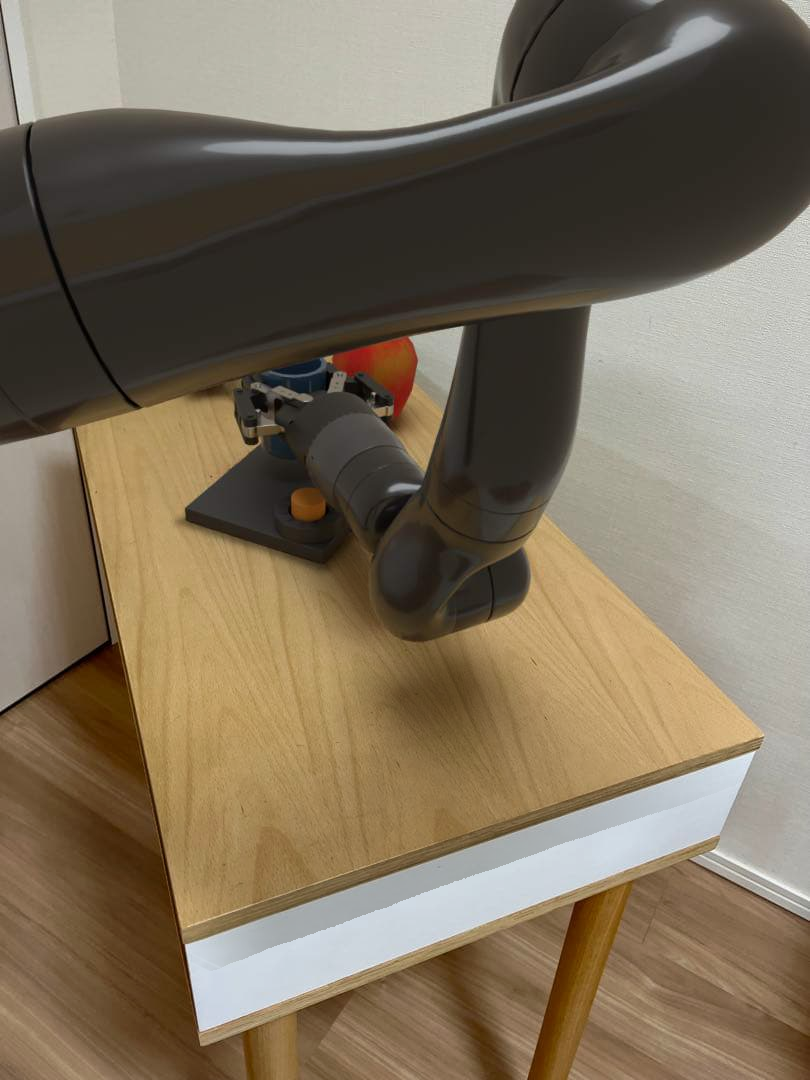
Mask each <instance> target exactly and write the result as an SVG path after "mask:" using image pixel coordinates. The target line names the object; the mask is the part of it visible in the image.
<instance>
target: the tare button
mask: <svg viewBox="0 0 810 1080" xmlns="http://www.w3.org/2000/svg"><path fill="white" fill-rule="evenodd" d="M325 509H326V500H325V499H324V498H323V496H322V495H321V493H320V492H319V491H318V489H315V488H301V489H298V490H296V491H295V492H293V494H292V496H291V513H292V516H293V517H294V518H295V519H297V520H301V521H317V520H320V519H322V518H323V517H324V516H325Z"/></svg>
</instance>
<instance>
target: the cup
mask: <svg viewBox="0 0 810 1080" xmlns="http://www.w3.org/2000/svg"><path fill="white" fill-rule="evenodd" d="M327 362H328V361H327V360H326V359H325V357H324V358H320V359H316V360H312V361H308V362H304V363H300V364H296V365H292V366H288V367H284V368H280V369H276V370H272V371H268V372H264V373H260V374H259V375H260V377H261V378H262V379H263V381H264V384H266V385H268V386H270V387H272V388H275V387H277V386H282V387H285V388H287V389H289V390H292V391H294V392H296V393H311V392H315V391H320V390H325V391H327ZM265 399H266V398H265ZM284 402H285V401H284ZM266 405H268V400H267V399H266ZM265 418H266V417H265ZM259 441H260V443H261V446H262V448H263V450H264V451H265V452H266V453H268V454H269V455H271V456H274V457H277V458H280V459H286V460H297V459H296V458H295V456H294V454H293V452H292V450H291V448H290V446H289V444H288V443H287V442H285V441H283V440H281V439H279V438H278V437H277V436H276V434H274V435H265V436H259Z"/></svg>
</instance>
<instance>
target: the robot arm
mask: <svg viewBox="0 0 810 1080" xmlns="http://www.w3.org/2000/svg"><path fill="white" fill-rule="evenodd" d="M809 206H810V27H809V25H808V24H807V23H806V22H805V21H804V20H803V19H802V17H801V16H799V15H798V13H797V12H796V11H795V10H794V9H793V8H792V7H791V6H790V5H789V4H788V3H786V2H785V1H784V0H515V1H514V4H513V7H512V9H511V10H510V13H509V16H508V17H507V20H506V24H505V27H504V30H503V33H502V37H501V41H500V45H499V50H498V55H497V58H496V65H495V71H494V79H493V85H492V93H491V103H490V107H487V108H483V109H480V110H476V111H472V112H469V113H465V114H462V115H458V116H454V117H451V118H450V117H449V118H447V119H442V120H437V121H431V122H426V123H421V124H416V125H411V126H402V127H392V128H384V129H372V130H371V129H369V130H368V129H367V130H366V129H365V130H362V129H361V130H358V129H357V130H351V129H350V130H333V129H323V128H312V127H304V126H303V127H301V126H293V125H285V124H279V123H273V122H272V123H271V122H264V121H258V120H252V119H244V118H238V117H231V116H222V115H217V114H216V115H215V114H209V113H200V112H192V111H191V112H190V111H181V110H173V109H163V108H140V107H139V108H136V107H114V108H113V107H111V108H99V109H93V110H84V111H78V112H72V113H67V114H60V115H56V116H50V117H46V118H44V117H43V118H40V119H39V118H38V119H37V120H35V121H28V122H25V123H21V124H17V125H14V126H9V127H6V128H1V129H0V447H1V446H5V445H10V444H12V443H19V442H22V441H23V442H24V441H27V440H32V439H37V438H41V437H44V436H49V435H53V434H56V433H60V432H63V431H67V430H71V429H75V428H78V427H82V426H86V425H89V424H92V423H97V422H99V421H104V420H106V419H111V418H114V417H117V416H121V415H125V414H129V413H132V412H135V411H139V410H142V409H145V408H146V409H147V408H150V407H153V406H157V405H160V404H163V403H165V402H170V401H172V400H176V399H178V398H181V397H185V396H188V395H191V394H194V393H196V392H201V391H203V390H207V388H210V389H211V388H214V387H217V386H219V385H223V384H226V383H231V382H233V381H237V380H240V387H236V388H234V389H232V397H233V407H234V408H233V409H234V410H233V414H234V415H233V416H234V420H235V422H236V424H237V427H238V429H239V432H240V435H241V439H242V440H243V443H244V444H245V445H247V446H256V445H259V443H260V436H265V435H274V434H276V436H277V437H278V438H279V439H281V440H283V441H285V442H287V443H288V444H289V446H290V448H291V450H292V452H293V454H294V456H295V458H296V459H297V461H298V462H299V463H300V465H301V466H302V468H303V469H304V471H305V472H306V473H307V475H308V476H309V478H310V480H311V482H312V484H313V485H314V486H315V487H316V488H317V489H318V491H319V492H320V493H321V495H322V496H323V498H324V499H325V500H326V501H327V502H328V503H329V504H330V505H331V506H332V507H333V508H334V509H335V510H336V511H337V512H338V513H339V515H340V516H341V518H342V519H343V521H344V522H345V523H346V525H347V526H348V528H349V529H350V530H351V531H350V532H351V533H352V535H353V536H354V537H355V539H356V540H357V541H358V543H359V544H360V545H361V546H362V547H363V548H364V549H365V550H366V551H368V552H369V553H371V554H372V557H371V560H370V564H369V570H368V577H367V587H368V588H367V589H368V597H369V602H370V605H371V608H372V610H373V612H374V614H375V617H376V619H377V621H378V622H379V624H381V626H382V627H383V628H384V629H385V630H386V631H387V632H389V633H390V634H391V635H392V636H394V637H395V638H398V639H400V640H401V641H402V640H403V641H405V642H409V643H424V642H425V643H426V642H430V641H434V640H437V639H441V638H443V637H444V638H445V637H446V636H449V635H451V634H456V633H458V632H462V631H464V630H468V629H471V628H474V627H477V626H480V625H483V624H486V623H490V622H493V621H496V620H499V619H501V618H504V617H506V616H508V615H510V614H512V613H514V612H515V611H517V610H518V609H519V608H520V607H521V606H522V605H523V603H524V602H525V600H526V598H527V597H528V595H529V593H530V589H531V581H532V570H531V563H530V560H529V556H528V553H527V551H526V549H525V547H524V545H525V544H526V543H527V542H528V540H529V539H530V538H531V536H532V535H533V533H534V532H535V530H536V528H537V526H538V524H539V522H540V521H541V519H542V517H543V515H544V513H545V511H546V509H547V507H548V505H549V504H550V501H551V499H552V498H553V495H554V494H555V492H556V489H557V488H558V486H559V484H560V482H561V480H562V478H563V475H564V473H565V471H566V468H567V466H568V463H569V461H570V458H571V455H572V452H573V448H574V445H575V439H576V436H577V435H576V434H577V427H578V422H579V417H580V412H581V404H582V394H583V385H584V372H585V361H586V351H587V341H588V340H587V339H588V333H589V326H590V319H591V312H592V306H593V305H596V304H597V305H599V304H603V303H608V302H609V303H610V302H613V301H614V302H615V301H619V300H624V299H629V298H634V297H637V296H638V297H639V296H642V295H647V294H651V293H657V292H659V291H660V292H661V291H664V290H667V289H671V288H675V287H678V286H682V285H684V284H687V283H690V282H693V281H695V280H698V279H700V278H703V277H705V276H707V275H711V274H713V273H716V272H718V271H720V270H722V269H724V268H725V267H728V266H730V265H733V264H734V263H736V262H738V261H740V260H742V259H743V258H746V257H747V256H749V255H751V254H753V253H754V252H756V251H757V250H759V249H760V248H762V247H763V246H764V245H766V244H768V243H769V242H771V241H772V240H773V239H774V238H776V237H777V236H779V234H781V233H782V232H783V231H785V230H786V229H787V227H789V226H790V225H791V224H792V223H793V222H794V221H795V220H797V218H798V217H799V216H800V215H801V214H802V213H804V211H806V209H808V208H809ZM461 327H462V332H461V337H460V343H459V347H458V352H457V357H456V362H455V367H454V370H453V376H452V379H451V384H450V388H449V392H448V396H447V400H446V402H445V403H446V404H445V407H444V412H443V415H442V419H441V421H440V424H439V428H438V431H437V433H436V437H435V440H434V444H433V447H432V449H431V454H430V457H429V459H428V463H427V466H426V469H425V471H424V469H423V468H422V467H421V466H420V465H419V464H418V463H417V461H416V460H415V459H414V458H413V457H412V455H410V454H409V452H408V451H407V448H406V447H405V445H404V444H403V442H402V441H401V440H400V438H399V437H398V436H397V435H396V433H394V431H393V430H392V429H391V428H390V427H389V426H388V425H387V424H391V423H392V422H394V421H393V420H394V419H393V407H394V395H393V394H392V393H391V392H389V391H388V390H387V389H385V388H384V387H383V386H382V385H380V384H379V383H378V382H377V381H375V380H374V379H373V378H372V377H370V376H369V375H368V374H367V373H365V372H356V373H355V374H354V377H349V376H347V374H346V373H345V372H342V371H339V370H338V369H337V368H336V367H335V366H334V365H333V364H332V362H330V361H327V391H325V390H320V391H315V392H311V393H296V392H294V391H292V390H289V389H287V388H285V387H282V386H277V387H275V388H272V387H270V386H268V385H266V384H264V381H263V379H262V378H261V377H260V375H259V374H260V373H264V372H268V371H272V370H276V369H280V368H284V367H288V366H292V365H296V364H300V363H304V362H308V361H312V360H316V359H320V358H324V359H325V358H328V357H333V355H336V354H340V353H344V352H348V351H352V350H356V349H360V348H364V347H368V346H372V345H376V344H380V343H384V342H389V341H393V340H397V339H402V338H406V337H409V338H411V337H414V336H420V335H425V334H430V333H434V332H440V331H444V330H450V329H455V328H461ZM265 398H266V399H267V400H268V405H266V399H265ZM284 401H285V402H284ZM265 417H266V418H265ZM385 423H386V424H385Z"/></svg>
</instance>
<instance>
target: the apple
mask: <svg viewBox="0 0 810 1080" xmlns="http://www.w3.org/2000/svg"><path fill="white" fill-rule="evenodd" d="M331 363H332V364H333V365H334V366H335V367H336V368H337V369H338V370H339V371H342V372H345V373H346V374H347V376H349V377H354V374H355V373H356V372H365V373H367V374H368V375H369V376H370V377H372V378H373V379H374V380H375V381H377V382H378V383H379V384H380V385H382V386H383V387H384V388H385V389H387V390H388V391H389V392H391V393H392V394H393V395H394V407H393V420H395V419H396V418H397V417H399V416H401V414H402V412H403V410H404V408H405V406H406V404H407V402H408V400H409V398H410V396H411V394H412V392H413V388H414V383H415V379H416V374H417V368H418V363H419V358H418V354H417V352H416V348H415V345H414V342H413V341H412V340H411V339H410V337H406V338H402V339H397V340H393V341H389V342H384V343H380V344H376V345H372V346H368V347H364V348H360V349H356V350H352V351H348V352H344V353H340V354H336V355H332V356H331ZM385 424H386V425H387V423H385Z"/></svg>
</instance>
